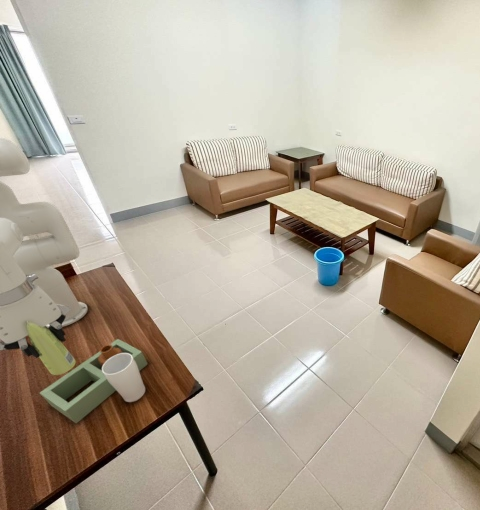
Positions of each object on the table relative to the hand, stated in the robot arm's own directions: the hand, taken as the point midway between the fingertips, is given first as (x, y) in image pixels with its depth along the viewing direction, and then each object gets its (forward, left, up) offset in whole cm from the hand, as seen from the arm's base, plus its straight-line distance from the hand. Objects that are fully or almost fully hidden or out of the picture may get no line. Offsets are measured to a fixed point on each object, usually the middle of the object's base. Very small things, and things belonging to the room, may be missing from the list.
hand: (47, 346), depth 65 cm
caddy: (+1, +4, -22) cm, 22 cm away
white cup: (+12, +6, -22) cm, 26 cm away
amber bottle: (+1, +9, -22) cm, 24 cm away
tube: (0, 0, -9) cm, 9 cm away
